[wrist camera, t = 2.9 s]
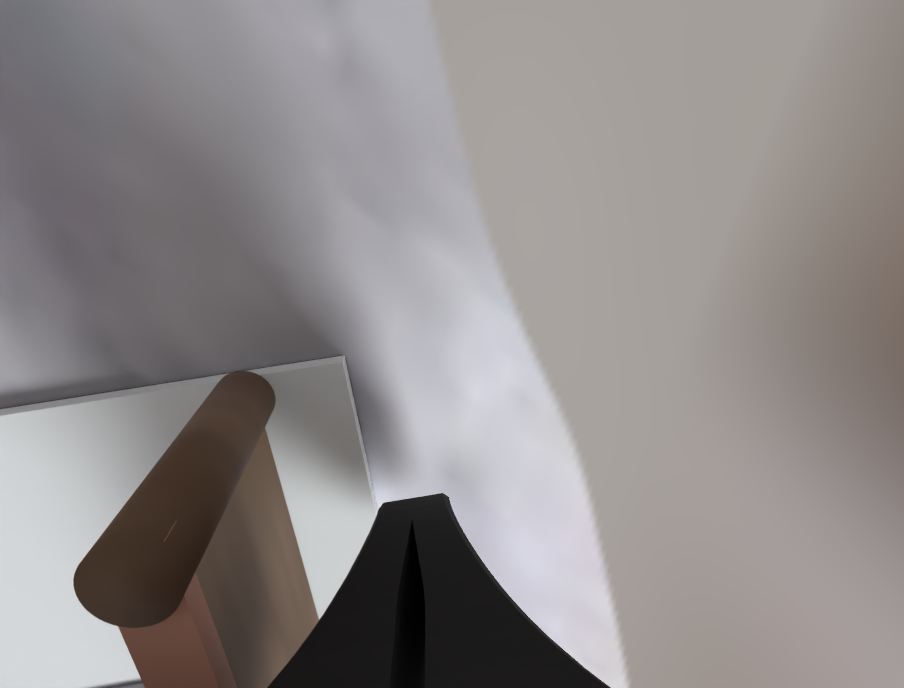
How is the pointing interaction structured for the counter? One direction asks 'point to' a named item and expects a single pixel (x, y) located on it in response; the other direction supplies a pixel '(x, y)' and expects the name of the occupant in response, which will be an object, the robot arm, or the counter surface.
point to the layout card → (118, 476)
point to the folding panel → (206, 554)
